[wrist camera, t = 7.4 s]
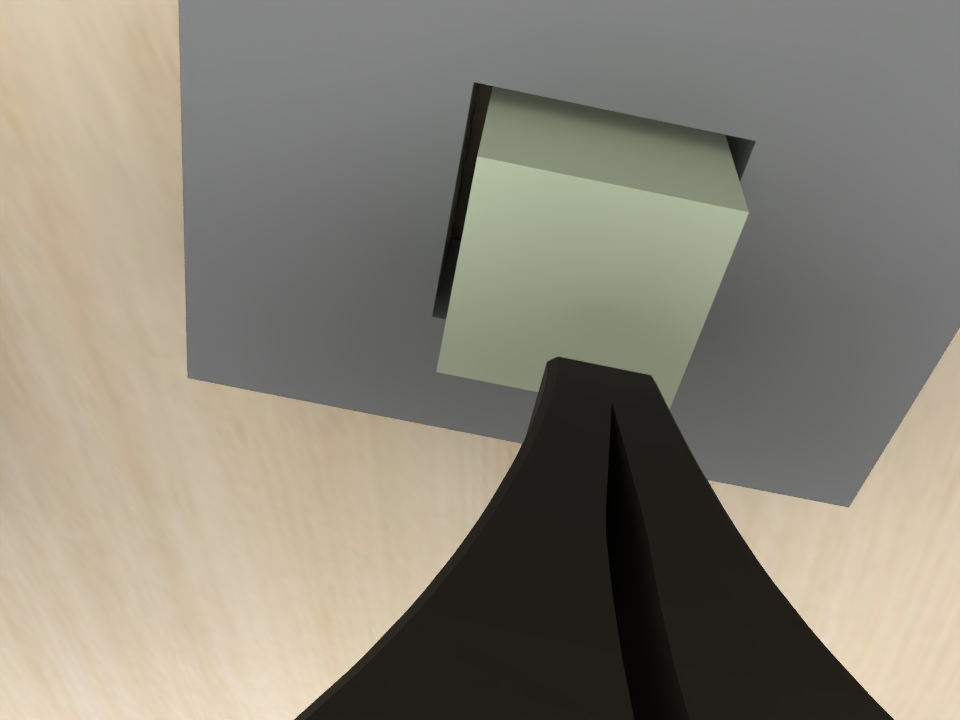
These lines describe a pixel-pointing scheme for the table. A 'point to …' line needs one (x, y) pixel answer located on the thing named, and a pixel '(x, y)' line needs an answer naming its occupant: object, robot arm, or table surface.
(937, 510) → the table surface
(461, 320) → the sage button
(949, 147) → the switch panel
